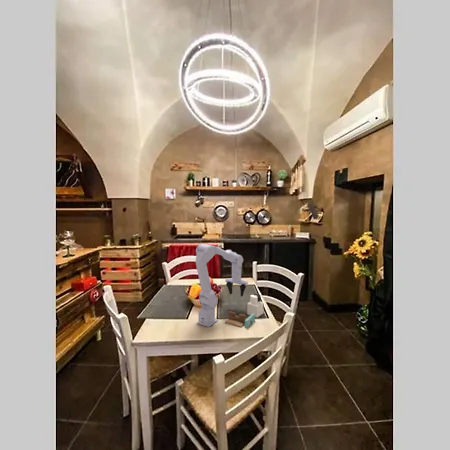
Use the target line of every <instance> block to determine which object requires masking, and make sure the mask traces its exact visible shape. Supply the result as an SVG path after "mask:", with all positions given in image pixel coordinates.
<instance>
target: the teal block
mask: <svg viewBox="0 0 450 450" xmlns="http://www.w3.org/2000/svg"><path fill="white" fill-rule="evenodd" d="M246 318H247V319H246V320H245V324H244V328H245V329H249V327H250V326H251V324H254V322H255V321H256V317H255V314H253V313H252V314H251V315H248V317H246Z"/></svg>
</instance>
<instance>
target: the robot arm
mask: <svg viewBox="0 0 450 450" xmlns="http://www.w3.org/2000/svg"><path fill="white" fill-rule="evenodd" d="M195 255H196V257H195V265H196V266H195V267H196V271H197V276H198V280H199V285H200V288H201V291H199V293H198V294H199V297H198V300H199V303H200V305H201V309H200V310H198V316H197V317H198V322H197V323H196V324H198V325H202V326H205V327H210V326H212V325H213V324H215V323H216V322H218V321H219V319H217V318H216V306H217V305H218V302H219V299H218V298H217V296H216V293H215V292H214V291H213V289H212V286H211V282H210V281H211V280H210V276H209V272H208V271H209V270H208V266H207V265H208V263H209V261H211V259H213V257H214V256H215V255H216V256H217V255H219V256H221V257H222V258H223V260H226V261H228V262H230V263H231V278H225V283H226V287H227V289H228V293H229V295H232V294H233V285H234V284H235V285H240V286H239V289H240V297H243V296H244V294H245V289H246V288H247V286H248V285H249V282H248V281H245V280H242V266H243V263H244V258H243V256H242V255H241V254H237V252H235V251H232V249H226V250H224V249H222V248H221V247H219V246H216V245H212V244H211V245H210V244H206V243H199V244H198V245H197V246H196V249H195Z"/></svg>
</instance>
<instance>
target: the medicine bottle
mask: <svg viewBox="0 0 450 450" xmlns="http://www.w3.org/2000/svg"><path fill="white" fill-rule="evenodd" d="M249 296H250V299H249V300H250V301H248V302H247V305H246V307H247V308H246V310H247V311H246V313H247V314H246V315H248V316H250V315H251V314H252V313H253V314H255V319H256V318H260V317H261V316H262V315H264V301H261V297H262V296H261V295H260V294H259V293H252V294H250V295H249Z"/></svg>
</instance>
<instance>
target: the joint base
mask: <svg viewBox="0 0 450 450" xmlns="http://www.w3.org/2000/svg"><path fill="white" fill-rule="evenodd" d="M246 315H247V314H245V313H239V314H238V315H236V311H232V310H229V311H228V319H227V320H225V321H224V324H226V325H227V324H228V325H231V326H233V327H236V328H237V327H238V328H242V327H244V326H245V320H246V319H247V318H248V317H247V316H246Z"/></svg>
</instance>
